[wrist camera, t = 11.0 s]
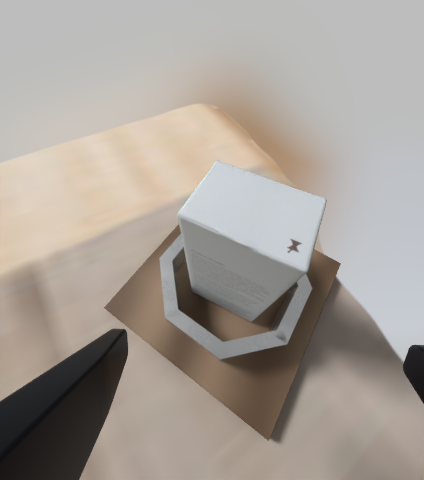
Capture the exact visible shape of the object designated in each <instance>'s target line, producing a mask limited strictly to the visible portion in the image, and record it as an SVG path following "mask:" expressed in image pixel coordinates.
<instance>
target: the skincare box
mask: <svg viewBox="0 0 424 480" xmlns="http://www.w3.org/2000/svg"><path fill="white" fill-rule="evenodd" d="M326 201H327V200H326V199H325V198H322V197H319V196H316V195H313V194H310V193H307V192H304V191H302V190H299V189H296V188H293V187H290V186H287V185H285V184H282V183H279V182H276V181H273V180H271V179H268V178H265V177H262V176H260V175H257V174H254V173H251V172H248V171H245V170H242V169H240V168H237V167H234V166H232V165H229V164H226V163H223V162H221V161H216V162H215V163H214V165H213V166H212V168H211V169H210V170H209V172H208V173H207V174H206V176H205V177H204V178H203V180H202V181H201V182H200V184H199V185H198V186H197V188H196V189H195V191H194V192H193V193H192V195H191V196H190V197H189V199H188V200H187V201H186V203H185V204H184V205H183V207H182V208H181V210H180V211H179V212H178V214H177V217H178V221H179V226H180V231H181V236H182V241H183V246H184V251H185V256H186V262H187V267H188V272H189V278H190V283H191V288H192V292H193V293H195V294H197V295H199V296H201V297H203V298H205V299H207V300H209V301H211V302H213V303H215V304H217V305H219V306H221V307H223V308H225V309H227V310H229V311H231V312H233V313H235V314H237V315H239V316H241V317H243V318H245V319H247V320H248V321H250V322H252V321H253V320H255V319H256V318H257V317H258V316H259V315H260V314H261V313H262V312H263V311H265V310H266V309H267V308H268V307H269V306H270V305H271V304H272V303H274V302H275V301H276V300H277V299H278V298H279V297H280V296H281V295H282V294H284V293H285V292H286V291H287V290H288V289H289V288H290V287H291V286H292V285H293V284H294V283H296V282H297V281H298V280H299V279H300V278H301V277H303V276H304V275H305V274H306V273H307V272H308V270H309V266H310V262H311V258H312V254H313V250H314V247H315V243H316V239H317V235H318V232H319V228H320V224H321V220H322V217H323V213H324V210H325V205H326Z"/></svg>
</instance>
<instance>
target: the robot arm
mask: <svg viewBox="0 0 424 480" xmlns="http://www.w3.org/2000/svg"><path fill="white" fill-rule="evenodd" d="M127 356H128V341H127V332H126V330H125V329H111V330H110V331H108V332H107V333H105V334H103V335H102V336H100V337H99V338H97V339H96V340H94V341H93V342H91V343H90V344H88V345H87V346H85V347H83V348H82V349H80V350H79V351H77V352H76V353H74V354H73V355H71V356H70V357H68V358H66V359H65V360H63V361H62V362H60V363H59V364H57V365H56V366H54V367H53V368H51V369H49V370H48V371H46V372H45V373H43V374H42V375H40V376H39V377H37V378H36V379H34V380H32V381H31V382H29V383H28V384H26V385H25V386H23V387H22V388H20V389H19V390H17V391H15V392H14V393H12V394H11V395H9V396H8V397H6V398H5V399H3V400H2V401H0V480H79V479H80V476H81V474H82V472H83V470H84V467H85V465H86V463H87V461H88V458H89V456H90V454H91V452H92V449H93V447H94V445H95V443H96V440H97V438H98V436H99V434H100V431H101V429H102V427H103V425H104V422H105V420H106V417H107V415H108V413H109V410H110V407H111V404H112V401H113V398H114V395H115V392H116V389H117V387H118V384H119V381H120V378H121V375H122V372H123V369H124V366H125V363H126V360H127ZM403 370H404V373H405V375H406V376H407V378H408V380H409V381H410V383H411V384H412V386H413V388H414V389H415V391H416V392H417V394H418V395H419V397H420V399H421V400H422V402H423V403H424V345H412V346H411V347H410V348H409V350H408V353H407V356H406V359H405V361H404V364H403Z"/></svg>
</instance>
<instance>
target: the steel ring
mask: <svg viewBox="0 0 424 480" xmlns="http://www.w3.org/2000/svg"><path fill="white" fill-rule="evenodd" d="M159 260H160V269H161V280H162V291H163V301H164V312H165V319H166V320H167V321H168V322H169V323H170V324H172V325H173V326H174V327H176V328H177V329H178V330H180V331H181V332H182V333H184V334H185V335H186V336H188V337H189V338H190V339H192V340H193V341H194V342H196V343H197V344H198V345H200V346H201V347H202V348H203V349H205V350H206V351H207V352H209V353H210V354H211V355H213V356H214V357H215V358H217V360H221V359H224V358H228V357H233V356H237V355H241V354H246V353H250V352H255V351H259V350H263V349H268V348H272V347H277V346H283V345H287V344H288V341H289V339H290V337H291V335H292V332H293V330H294V328H295V326H296V323H297V321H298V319H299V317H300V315H301V312H302V310H303V308H304V306H305V303H306V301H307V299H308V297H309V295H310V292H311V290H312V287H311V284H310V282H309V280H308V277H307V275H306V274H305V275H304V276H303V277H301V278H300V279H299V280H298V281H297V282H296V283H294V284H293V285H292V286H291V287H290V288H289V289H288V290H287V291H286V292H285V294H286V297H285V299H284V301H283V303H282V305H281V307H280V309H279V311H278V313H277V315H276V317H275V319H274V321H273V323H272V325H271V327H270V329H269V331H268V332H267V333H262V334H257V335H253V336H248V337H244V338H239V339H235V340H230V341H225V342H222V341H221V340H220V339H218V338H217V337H216V336H214V335H213V334H211V333H210V332H209V331H207V330H206V329H205V328H203V327H202V326H200V325H199V324H198V323H196V322H195V321H194V320H192V319H191V318H189V317H188V316H187V315H185V314H184V313H183V312H181V307H180V299H179V291H178V284H177V276H176V273H177V272H178V270H179V269H180V268H181V267H182V265H183V264H184V263H185V262H186V256H185V251H184V246H183V241H182V236H181V234H180V235H179V236H178V237H177V239H176V240H175V241H174V242H173V243H172V244H171V246H170V247H169V248H168V249H167V250H166V251H165V252H164V254H163V255H162V256H161V257H160V258H159Z"/></svg>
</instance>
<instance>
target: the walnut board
mask: <svg viewBox="0 0 424 480" xmlns="http://www.w3.org/2000/svg"><path fill="white" fill-rule="evenodd" d="M180 234H181V231H180V226H179V225H178V226H177V227H176V228H175V229H174V230H173V231H172V232H171V233H170V235H169V236H168V237H167V238H166V239H165V240H164V241H163V242H162V244H161V245H160V246H159V247H158V248H157V249H156V250H155V251H154V252H153V254H152V255H151V256H150V257H149V258H148V259H147V260H146V261H145V263H144V264H143V265H142V266H141V267H140V268H139V269H138V270H137V271H136V273H135V274H134V275H133V276H132V277H131V278H130V279H129V280H128V282H127V283H126V284H125V285H124V286H123V287H122V288H121V289H120V291H119V292H118V293H117V294H116V295H115V296H114V297H113V298H112V299H111V301H110V302H109V303H108V304H107V305H106V306H105V307H104V308H105V309H106V310H107V311H109V312H110V313H111V314H112V315H114V316H115V317H116V318H117V319H119V320H120V321H121V322H122V323H123V324H125V325H126V326H127V327H128V328H130V329H131V330H132V331H133V332H135V333H136V334H137V335H138V336H140V337H141V338H142V339H143V340H145V341H146V342H147V343H148V344H149V345H151V346H152V347H153V348H154V349H156V350H157V351H158V352H159V353H161V354H162V355H163V356H164V357H166V358H167V359H168V360H169V361H170V362H172V363H173V364H174V365H175V366H177V367H178V368H179V369H180V370H182V371H183V372H184V373H185V374H187V375H188V376H189V377H190V378H192V379H193V380H194V381H195V382H196V383H198V384H199V385H200V386H201V387H203V388H204V389H205V390H206V391H208V392H209V393H210V394H211V395H213V396H214V397H215V398H216V399H217V400H219V401H220V402H221V403H222V404H224V405H225V406H226V407H227V408H229V409H230V410H231V411H232V412H234V413H235V414H236V415H237V416H238V417H240V418H241V419H242V420H243V421H245V422H246V423H247V424H248V425H250V426H251V427H252V428H253V429H255V430H256V431H257V432H258V433H260V434H261V435H262V436H263V437H264V438H266V439H267V440H268V441H269V439H270V436H271V434H272V431H273V429H274V426H275V424H276V421H277V419H278V416H279V414H280V412H281V409H282V407H283V404H284V402H285V399H286V397H287V394H288V392H289V389H290V387H291V384H292V382H293V380H294V377H295V375H296V372H297V370H298V367H299V365H300V362H301V360H302V357H303V355H304V353H305V350H306V348H307V345H308V343H309V340H310V338H311V335H312V333H313V330H314V328H315V325H316V323H317V321H318V318H319V316H320V313H321V311H322V308H323V306H324V303H325V301H326V298H327V296H328V294H329V291H330V289H331V286H332V284H333V281H334V279H335V276H336V274H337V271H338V269H339V266H340V263H339V262H337V261H335V260H333V259H331V258H329V257H328V256H326V255H324V254H322V253H320V252H318V251H316V250H315V249H314V250H313V254H312V258H311V262H310V266H309V270H308V272H307V273H306V275H307V277H308V280H309V282H310V284H311V287H312V290H311V292H310V295H309V297H308V299H307V301H306V303H305V306H304V308H303V310H302V312H301V315H300V317H299V319H298V321H297V323H296V326H295V328H294V330H293V332H292V335H291V337H290V339H289V341H288V344H287V345H283V346H277V347H272V348H268V349H263V350H259V351H255V352H250V353H246V354H241V355H237V356H233V357H228V358H224V359H221V360H217V358H215V357H214V356H213V355H211V354H210V353H209V352H207V351H206V350H205V349H203V348H202V347H201V346H200V345H198V344H197V343H196V342H194V341H193V340H192V339H190V338H189V337H188V336H186V335H185V334H184V333H182V332H181V331H180V330H178V329H177V328H176V327H174V326H173V325H172V324H170V323H169V322H168V321H167V320H166V319H165V312H164V301H163V291H162V280H161V269H160V260H159V258H160V257H161V256H162V255H163V254H164V252H165V251H166V250H167V249H168V248H169V247H170V246H171V244H172V243H173V242H174V241H175V240H176V239H177V237H178V236H179V235H180ZM176 276H177V284H178V291H179V299H180V307H181V312H183V313H184V314H185V315H187V316H188V317H189V318H191V319H192V320H194V321H195V322H196V323H198V324H199V325H200V326H202V327H203V328H205V329H206V330H207V331H209V332H210V333H211V334H213V335H214V336H216V337H217V338H218V339H220V340H221V341H222V342H225V341H230V340H235V339H239V338H244V337H248V336H253V335H257V334H262V333H267V332H268V331H269V329H270V327H271V325H272V323H273V321H274V319H275V317H276V315H277V313H278V311H279V309H280V307H281V305H282V303H283V301H284V299H285V297H286V294H285V293H284V294H282V295H281V296H280V297H279V298H278V299H277V300H276V301H275V302H274V303H272V304H271V305H270V306H269V307H268V308H267V309H266V310H265V311H263V312H262V313H261V314H260V315H259V316H258V317H257V318H256V319H255V320H253V321H252V322H250V321H248V320H247V319H245V318H243V317H241V316H239V315H237V314H235V313H233V312H231V311H229V310H227V309H225V308H223V307H221V306H219V305H217V304H215V303H213V302H211V301H209V300H207V299H205V298H203V297H201V296H199V295H197V294H195V293H193V292H192V288H191V283H190V278H189V272H188V267H187V262H185V263H184V264H183V265H182V267H181V268H180V269H179V270H178V272H177V273H176Z"/></svg>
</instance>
